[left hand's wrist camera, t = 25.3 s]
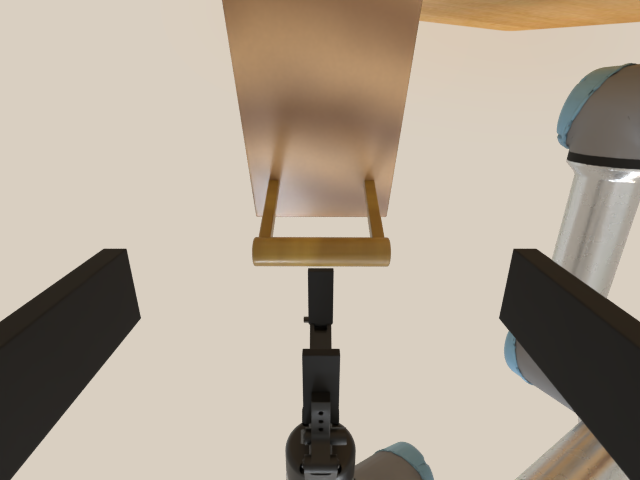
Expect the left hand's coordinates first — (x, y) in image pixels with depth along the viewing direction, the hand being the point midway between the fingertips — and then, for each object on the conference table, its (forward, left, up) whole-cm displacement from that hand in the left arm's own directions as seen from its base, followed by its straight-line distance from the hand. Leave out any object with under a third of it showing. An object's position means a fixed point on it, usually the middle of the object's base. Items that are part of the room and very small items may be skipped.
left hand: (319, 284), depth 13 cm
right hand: (+15, -8, +11) cm, 21 cm away
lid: (+12, -6, -5) cm, 14 cm away
